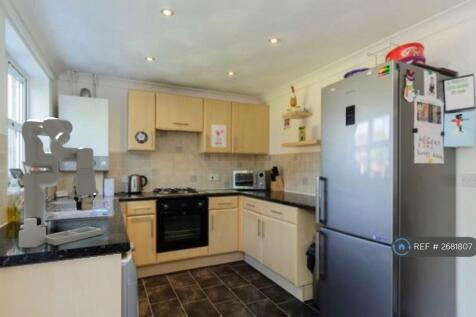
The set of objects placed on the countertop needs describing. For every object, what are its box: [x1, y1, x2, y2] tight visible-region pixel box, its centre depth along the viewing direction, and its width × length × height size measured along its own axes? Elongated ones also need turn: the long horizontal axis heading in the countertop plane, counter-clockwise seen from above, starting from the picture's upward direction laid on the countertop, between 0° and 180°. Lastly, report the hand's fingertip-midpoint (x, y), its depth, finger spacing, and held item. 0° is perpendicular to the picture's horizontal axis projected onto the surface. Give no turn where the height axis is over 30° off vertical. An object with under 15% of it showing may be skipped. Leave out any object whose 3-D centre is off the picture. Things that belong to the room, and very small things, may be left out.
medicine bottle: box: [18, 217, 47, 249], centre depth 122 cm, size 7×7×12 cm
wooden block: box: [79, 196, 94, 212], centre depth 139 cm, size 5×5×6 cm
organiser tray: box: [45, 226, 103, 246], centre depth 134 cm, size 12×22×2 cm, turn 151°
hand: (84, 208), depth 139 cm, fingers closed on wooden block, 5 cm apart
